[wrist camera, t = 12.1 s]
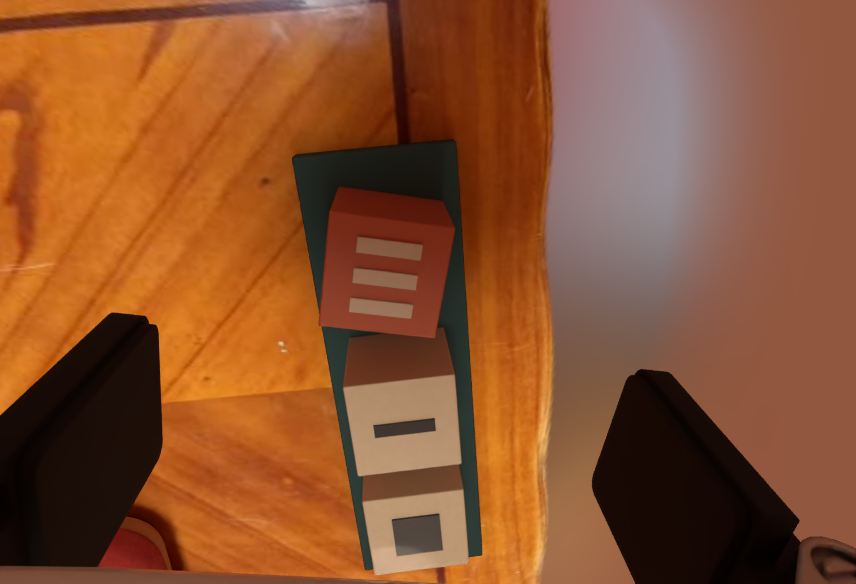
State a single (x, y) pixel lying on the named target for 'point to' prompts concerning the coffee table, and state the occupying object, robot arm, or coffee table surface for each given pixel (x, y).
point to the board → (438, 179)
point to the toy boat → (136, 548)
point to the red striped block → (385, 263)
